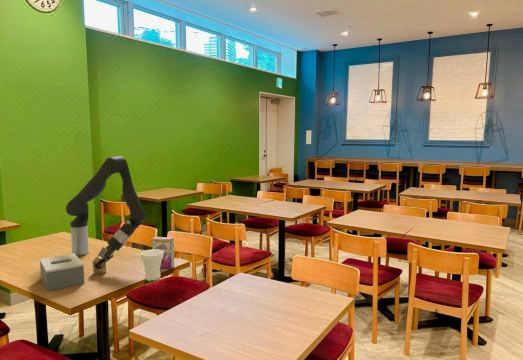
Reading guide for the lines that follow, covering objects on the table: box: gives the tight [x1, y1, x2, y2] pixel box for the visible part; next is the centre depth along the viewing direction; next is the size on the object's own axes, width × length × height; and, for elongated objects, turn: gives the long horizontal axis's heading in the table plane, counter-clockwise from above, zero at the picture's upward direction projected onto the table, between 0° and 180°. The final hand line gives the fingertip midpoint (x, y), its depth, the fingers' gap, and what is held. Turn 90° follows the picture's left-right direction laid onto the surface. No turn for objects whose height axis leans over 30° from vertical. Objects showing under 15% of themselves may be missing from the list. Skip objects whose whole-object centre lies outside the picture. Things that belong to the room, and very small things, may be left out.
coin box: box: [39, 253, 85, 292], centre depth 191 cm, size 20×16×10 cm
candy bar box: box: [151, 236, 175, 269], centre depth 211 cm, size 11×5×16 cm, turn 84°
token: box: [91, 256, 107, 275], centre depth 201 cm, size 2×6×8 cm, turn 127°
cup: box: [140, 248, 164, 283], centre depth 193 cm, size 11×11×14 cm
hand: (95, 266), depth 200 cm, fingers closed on token, 2 cm apart
